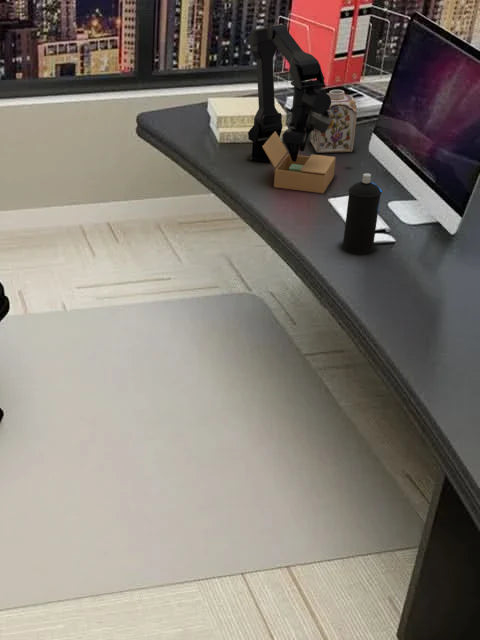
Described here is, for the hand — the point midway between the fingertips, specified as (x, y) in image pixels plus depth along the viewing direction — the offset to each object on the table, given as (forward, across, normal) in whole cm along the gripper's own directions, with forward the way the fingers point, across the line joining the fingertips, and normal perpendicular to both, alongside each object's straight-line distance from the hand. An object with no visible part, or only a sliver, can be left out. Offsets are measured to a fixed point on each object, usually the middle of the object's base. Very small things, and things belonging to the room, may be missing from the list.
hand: (298, 156), depth 296 cm
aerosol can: (+8, -40, -26) cm, 49 cm away
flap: (-1, 0, +7) cm, 7 cm away
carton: (+8, 0, -2) cm, 8 cm away
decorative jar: (+8, +32, -3) cm, 33 cm away
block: (+7, 0, 0) cm, 7 cm away
